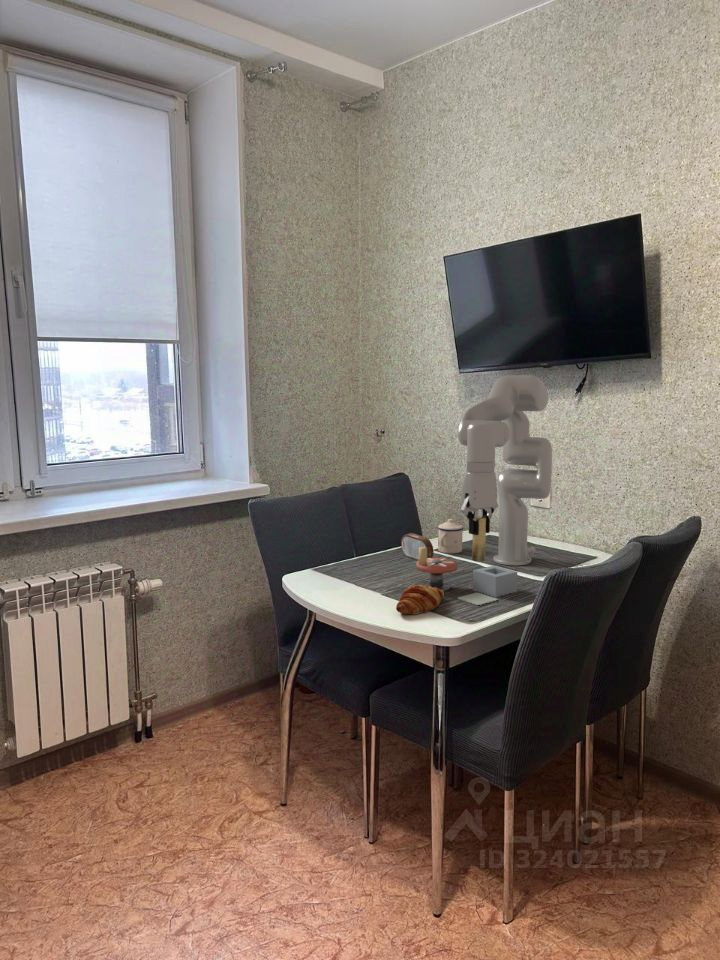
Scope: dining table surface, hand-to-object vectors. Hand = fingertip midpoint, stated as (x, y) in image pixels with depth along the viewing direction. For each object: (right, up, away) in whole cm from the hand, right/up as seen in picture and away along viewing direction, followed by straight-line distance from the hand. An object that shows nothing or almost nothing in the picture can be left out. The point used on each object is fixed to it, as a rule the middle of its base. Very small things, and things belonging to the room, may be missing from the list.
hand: (479, 532), depth 197 cm
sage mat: (0, -19, +3) cm, 19 cm away
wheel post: (-10, -18, +14) cm, 25 cm away
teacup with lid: (-1, -11, +58) cm, 59 cm away
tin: (-14, -13, +48) cm, 52 cm away
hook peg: (0, -8, +1) cm, 8 cm away
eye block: (+6, -18, +11) cm, 22 cm away
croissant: (-16, -21, -3) cm, 26 cm away
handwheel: (-10, -11, +13) cm, 20 cm away
